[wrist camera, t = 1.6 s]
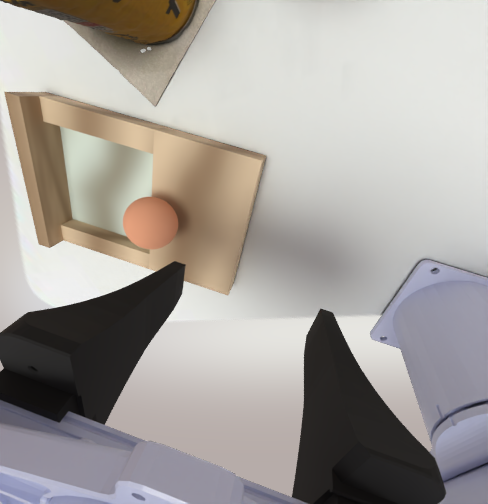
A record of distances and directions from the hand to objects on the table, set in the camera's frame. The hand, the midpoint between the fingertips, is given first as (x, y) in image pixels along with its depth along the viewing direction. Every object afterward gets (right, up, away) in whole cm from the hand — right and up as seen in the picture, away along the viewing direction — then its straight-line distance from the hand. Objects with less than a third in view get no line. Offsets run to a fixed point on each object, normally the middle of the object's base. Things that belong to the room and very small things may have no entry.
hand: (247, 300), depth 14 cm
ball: (-6, +4, +4) cm, 9 cm away
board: (-8, +7, +7) cm, 12 cm away
